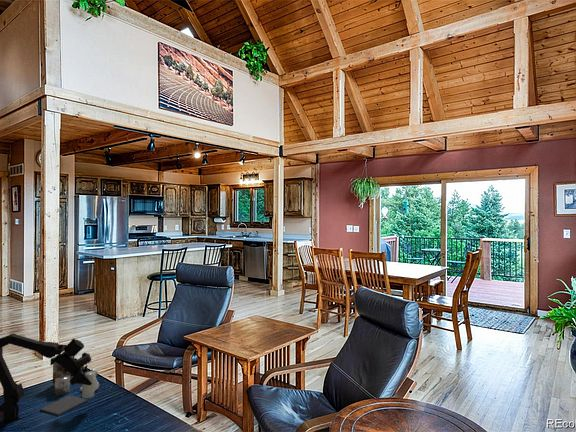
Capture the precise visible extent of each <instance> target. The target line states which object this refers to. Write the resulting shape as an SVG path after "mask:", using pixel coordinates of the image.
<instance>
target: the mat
mask: <svg viewBox="0 0 576 432" xmlns="http://www.w3.org/2000/svg"><path fill="white" fill-rule="evenodd" d="M87 402H88V399H87V398H82V397H78V396H74V395H72V394H71V395H68V396H67V395H66V396H65V397H64V398H61V399H59V400H57V401H55V402H53V403H50V404H48V405H46V406H43V407H40V411H41V412H44V413H47V414H52V415H55V416H58V417H59V416H61V415H63V414H65V413H67V412H70V411H72V410H73V409H75V408H77V407H79V406H81V405H83V404H85V403H87Z"/></svg>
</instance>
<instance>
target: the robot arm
mask: <svg viewBox="0 0 576 432" xmlns="http://www.w3.org/2000/svg"><path fill="white" fill-rule="evenodd" d="M8 345H12V346H16V347H19V348H23V349H27V350H30V351H34V352H36V353H38V354H39V355H40V356H42V357H44V358H47V359H50V364H49V365H50V366H53V364H54V363H57V364H58V365H59V366H61V367H62V368H63V369H64V370H63V371H64V372H65V371H67V372H68V373H69V374H71V375H70V376H71V379H70V385H72V386H74V385H75V384H77V385H78V384H79V385H82V384H85V385H91V384H92V383H91V381H90V380H89V379H88V378H87V377H86V376H85V373H86V372H89V370H88V364H89V363H91V362H92V357H91V354H90V353H87V352H82V354H81V356H80V357H79V358H76V357H75V356H77V355H78V354H79V353H80V352H81V351H82V350H83V349H84V348H85V344H84V342H82V341H80V340H78V339H75V338H72V339H71V340H70V342H69V343H67V344H60V343H57V342H55V341H54V342H52V341H40V340H38V339H33V338H29V337H26V336H23V335H19V334H16V333H15V332H14V333H10V334H7V335H5V336H2V337H0V385H1V386H2V391H3V392H2V394H3V395H2V397H3V398H2V399H3V401H2V403H0V424H2V425H8V424H10V423H13V422H15V421H17V420H19V419H21V418H20V416H19V413H20V411H19V410H20V407H19V405H18V403H19V402H20V401H21V399H22V398H23V396H24V395H25V388H24V387H23V384H22V383H21V382H20V383H17V382H15V380H14V378H13V376H12V374H11V371H10V369H9V367H8V365H7V363H6V360H5V358H4V356H3V351H4V350H3V348H4V347H6V346H8ZM70 356H71V357H70ZM72 356H74V359H73V358H72ZM54 357H55V358H54Z"/></svg>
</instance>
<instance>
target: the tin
mask: <svg viewBox="0 0 576 432" xmlns="http://www.w3.org/2000/svg"><path fill="white" fill-rule="evenodd" d="M70 390H71V384H70V376H68V375H64V376H60V377H57V378H56V379H55V386H54V395H55V396H64V395H67V394H69V393H70Z"/></svg>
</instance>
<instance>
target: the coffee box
mask: <svg viewBox="0 0 576 432" xmlns="http://www.w3.org/2000/svg"><path fill="white" fill-rule="evenodd" d="M55 357H56V356H54V357H53V358H55ZM70 357H71V356H70ZM72 358H73V359H74V358H75V356H72ZM63 370H64V369H63V368H62V367H61V366H59V365H58V364H57V363H54V364H53V365H52V387H53V386H54V387H55V379H56V378H57V377H60V376H64V375H68V376H70V375H71V374H69V373H68V372H67V371H65V372H64V371H63ZM70 379H71V376H70Z"/></svg>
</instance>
